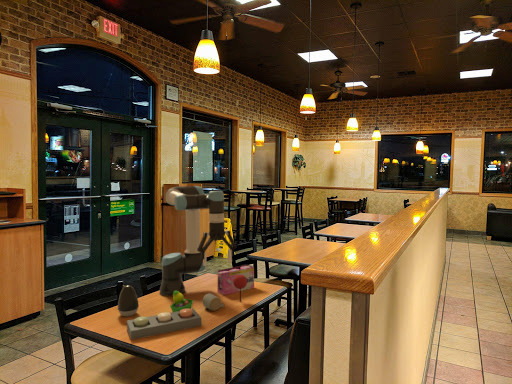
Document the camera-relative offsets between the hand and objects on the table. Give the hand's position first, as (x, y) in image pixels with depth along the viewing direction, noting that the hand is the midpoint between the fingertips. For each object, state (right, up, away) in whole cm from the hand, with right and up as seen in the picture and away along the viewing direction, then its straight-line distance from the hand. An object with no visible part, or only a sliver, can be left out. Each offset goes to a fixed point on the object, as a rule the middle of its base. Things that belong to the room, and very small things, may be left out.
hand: (217, 263), depth 184 cm
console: (-24, -28, -12) cm, 38 cm away
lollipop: (+11, -26, +22) cm, 36 cm away
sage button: (-33, -25, -16) cm, 44 cm away
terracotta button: (-14, -24, -7) cm, 29 cm away
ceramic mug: (-3, -27, +12) cm, 29 cm away
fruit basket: (-20, -27, +7) cm, 34 cm away
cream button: (-24, -24, -12) cm, 36 cm away
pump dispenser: (-47, -27, +5) cm, 54 cm away
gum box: (+7, -25, +43) cm, 50 cm away
